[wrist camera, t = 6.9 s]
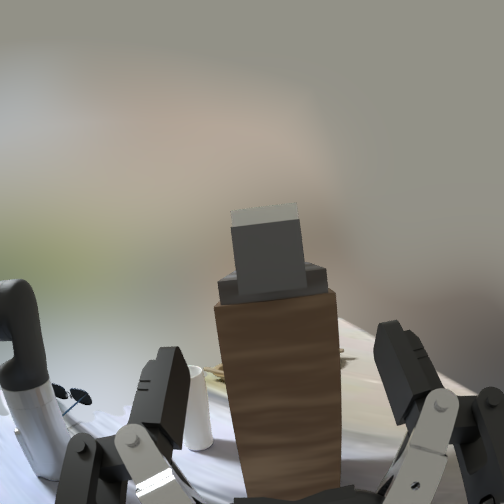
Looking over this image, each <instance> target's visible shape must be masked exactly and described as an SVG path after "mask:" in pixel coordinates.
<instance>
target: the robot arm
mask: <svg viewBox="0 0 504 504" xmlns="http://www.w3.org/2000/svg"><path fill="white" fill-rule="evenodd" d="M0 341H12V343H13V349H14V357H13V358H12V359H11V360H8V361H6V362H5V363H3V364H2V365H1V366H0V385H1V388H2V391H3V394H4V396H5V399H6V402H7V405H8V407H9V410H10V412H11V415H12V417H13V420H14V422H15V425H16V429H15V435H16V437H17V439H18V442H19V444H20V446H21V448H22V450H23V452H24V454H25V456H26V458H27V460H28V462H29V464H30V466H31V467H32V469H33V471H34V473H35V475H36V476H41V477H43V478H45V479H48V480H53V481H59V484H58V489H57V494H56V500H55V504H125V503H126V493H127V484H128V480H132V479H133V481H134V483H135V485H136V487H137V490H136V494H137V496H138V498H139V500H140V502H141V504H207V502H206V501H205V500H204V499H203V498H202V497H201V496H200V495H199V494H198V493H197V491H196V490H195V489H194V488H193V486H192V485H191V484H190V482H189V481H188V480H187V478H186V477H185V476H184V474H183V473H182V471H181V470H180V469H179V467H178V466H177V464H176V463H175V462H174V460H173V459H172V452H173V449H177V450H182V442H183V434H184V426H185V419H186V411H187V404H188V397H189V390H190V382H191V378H190V371H189V368H188V366H187V364H186V361H185V359H184V357H183V355H182V352H181V350H180V348H179V347H178V346H177V347H160V348H159V351H158V354H157V358H156V360H149V361H148V363H147V364H146V365H145V367H144V368H143V370H142V373H141V376H140V382H139V383H138V388H137V391H136V394H135V398H134V402H133V406H132V410H131V414H130V418H129V421H128V423H127V425H125V426H123V427H122V428H121V429H119V431H118V432H117V433H116V435H113V436H108V437H103V438H97V439H94V438H93V437H92V436H91V435H89V434H87V433H79V434H76V435H74V436H73V437H72V438H71V437H70V434H69V432H68V429H67V427H66V424H65V422H64V419H63V416H62V414H61V411H60V408H59V405H58V402H57V399H56V397H55V393H54V390H53V387H52V384H51V381H50V378H49V374H48V370H47V363H46V354H45V349H44V344H43V339H42V333H41V327H40V320H39V313H38V306H37V302H36V298H35V295H34V292H33V290H32V287H31V286H30V284H29V283H28V282H27V281H25V280H23V279H13V280H4V281H0ZM373 353H374V360H375V363H376V366H377V369H378V371H379V374H380V377H381V380H382V382H383V385H384V388H385V391H386V394H387V397H388V400H389V403H390V406H391V409H392V412H393V415H394V418H395V421H396V424H397V426H398V425H402V424H406V427H407V431H406V434H405V436H404V438H403V441H402V443H401V445H400V448H399V450H398V452H397V454H396V456H395V458H394V461H393V463H392V465H391V467H390V469H389V470H388V472H387V474H386V475H385V477H384V479H383V480H382V482H381V484H380V486H379V487H378V489H377V491H376V493H374V492H371V491H367V490H359V489H354V485H349V486H344V487H339V488H334V489H328V490H324V491H321V492H319V493H316V494H313V495H311V496H308V497H305V498H302V499H300V500H296V501H289V500H281V499H274V498H267V497H250V498H234V503H231V504H431V501H432V499H433V497H434V494H435V492H436V490H437V487H438V485H439V482H440V480H441V477H442V474H443V472H444V469H445V466H446V463H447V459H448V457H447V455H446V450H447V447H448V444H453V445H454V449H455V452H456V456H457V459H458V463H459V467H460V470H461V474H462V478H463V482H464V487H465V491H466V495H467V500H468V504H504V394H503V392H502V391H501V390H499V389H498V388H495V387H487V388H484V389H483V390H482V391H481V392H480V393H479V395H478V396H456V395H455V394H454V393H453V392H452V391H450V390H448V389H445V388H444V387H443V385H442V383H441V381H440V379H439V377H438V374H437V372H436V370H435V368H434V366H433V364H432V362H431V360H430V358H429V357H428V355H427V353H426V351H425V349H424V347H423V345H422V343H421V341H420V339H419V337H417V336H416V335H415V334H414V333H413V332H412V331H410V330H407V331H403V329H402V327H401V325H400V323H399V322H398V321H397V320H393V321H388V322H383V323H379V325H378V329H377V334H376V339H375V344H374V349H373Z"/></svg>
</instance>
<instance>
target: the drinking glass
mask: <svg viewBox="0 0 504 504" xmlns="http://www.w3.org/2000/svg"><path fill="white" fill-rule="evenodd" d="M187 366H188V368H189V371H190V378H191V382H190V390H189V397H188V404H187V411H186V419H185V426H184V434H183V441H184V444H185V446H186V447H187V448H188V449H190V450H195V451H199V450H204V449H207V448H209V447H210V446H211V445H212V444H213V436H212V430H211V422H210V413H209V404H208V394H207V387H206V382H205V377H204V373H203V370H202V368H200V367H198V366H190V365H187Z"/></svg>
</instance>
